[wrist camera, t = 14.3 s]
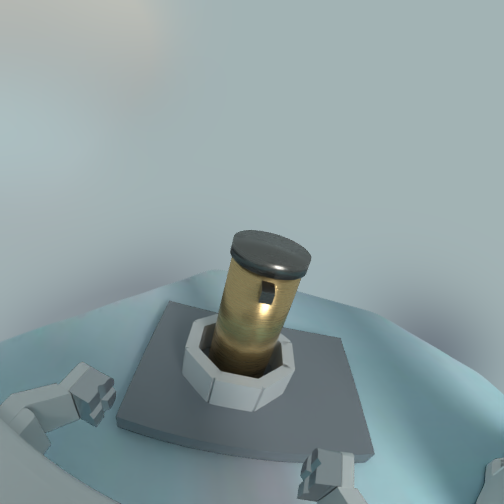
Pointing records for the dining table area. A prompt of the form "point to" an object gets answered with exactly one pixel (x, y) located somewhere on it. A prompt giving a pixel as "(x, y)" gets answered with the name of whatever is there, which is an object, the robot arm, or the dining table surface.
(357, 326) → the dining table surface
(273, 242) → the cylinder
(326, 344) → the socket base
